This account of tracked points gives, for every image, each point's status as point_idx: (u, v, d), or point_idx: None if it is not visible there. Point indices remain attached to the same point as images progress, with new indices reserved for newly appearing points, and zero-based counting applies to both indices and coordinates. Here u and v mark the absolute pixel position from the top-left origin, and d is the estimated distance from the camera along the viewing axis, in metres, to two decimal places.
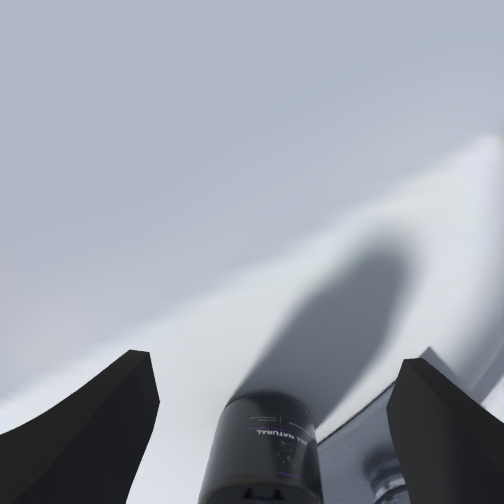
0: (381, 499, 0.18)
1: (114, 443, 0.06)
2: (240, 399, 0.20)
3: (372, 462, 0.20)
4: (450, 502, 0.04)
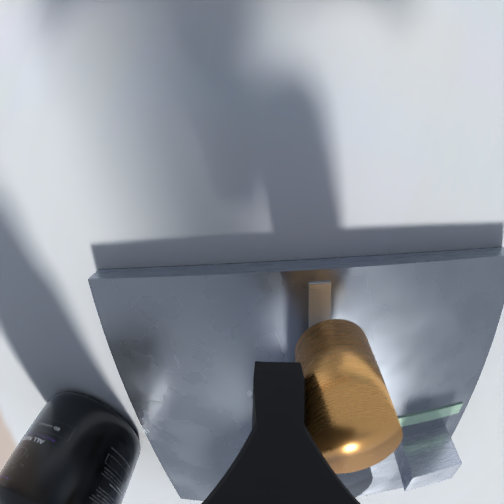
0: None
1: None
2: None
3: (223, 425, 0.14)
4: None
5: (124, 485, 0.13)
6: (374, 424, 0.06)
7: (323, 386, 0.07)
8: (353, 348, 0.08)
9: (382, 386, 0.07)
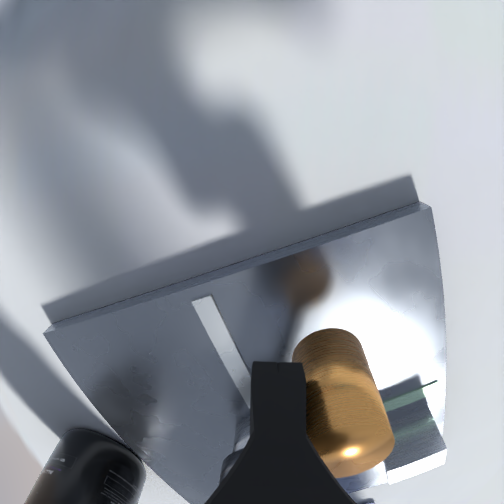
0: None
1: None
2: None
3: (190, 438, 0.15)
4: None
5: (128, 502, 0.14)
6: (375, 433, 0.06)
7: (330, 389, 0.07)
8: (358, 359, 0.08)
9: (381, 400, 0.07)
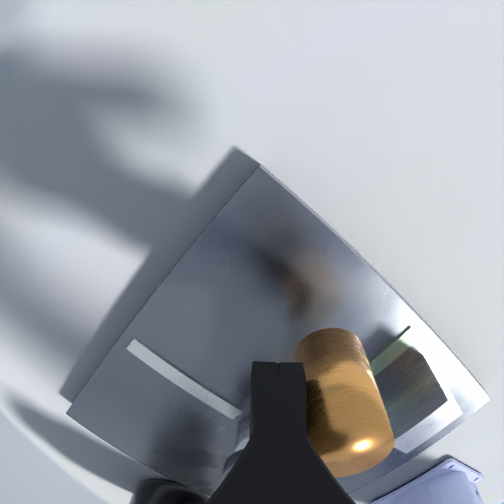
0: None
1: None
2: None
3: (212, 459, 0.16)
4: None
5: None
6: (374, 433, 0.06)
7: (329, 389, 0.07)
8: (358, 359, 0.08)
9: (381, 399, 0.07)
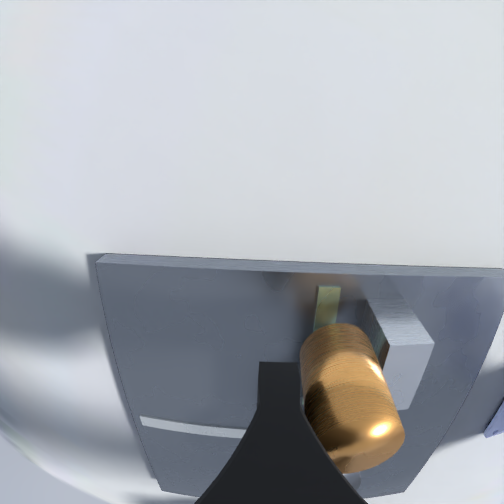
0: None
1: None
2: None
3: None
4: None
5: None
6: (380, 426, 0.06)
7: (332, 387, 0.07)
8: (361, 352, 0.08)
9: (387, 390, 0.07)
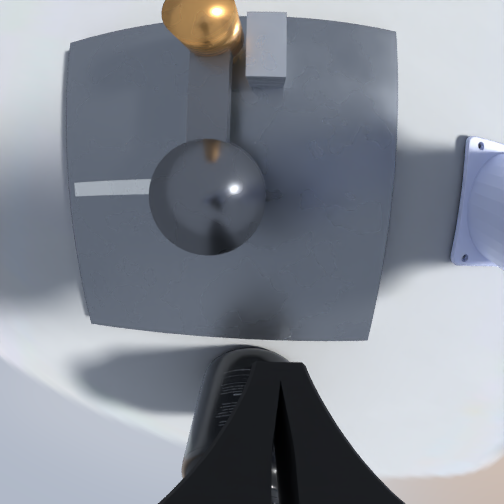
0: None
1: None
2: None
3: (205, 267, 0.18)
4: None
5: None
6: None
7: None
8: None
9: None
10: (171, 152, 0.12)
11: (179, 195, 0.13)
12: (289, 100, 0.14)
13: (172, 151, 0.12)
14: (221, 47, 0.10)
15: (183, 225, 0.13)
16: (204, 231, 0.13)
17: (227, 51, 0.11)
